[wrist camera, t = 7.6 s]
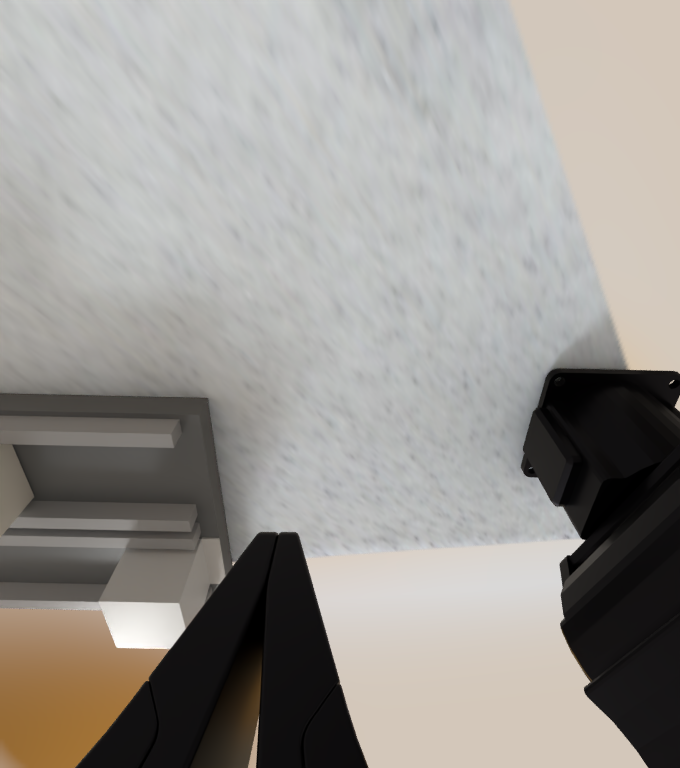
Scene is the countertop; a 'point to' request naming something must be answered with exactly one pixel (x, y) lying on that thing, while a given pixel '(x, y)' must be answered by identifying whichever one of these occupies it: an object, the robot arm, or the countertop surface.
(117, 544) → the switch board
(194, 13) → the countertop surface
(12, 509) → the beige cube
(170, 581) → the light grey cube
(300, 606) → the robot arm
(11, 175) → the countertop surface
